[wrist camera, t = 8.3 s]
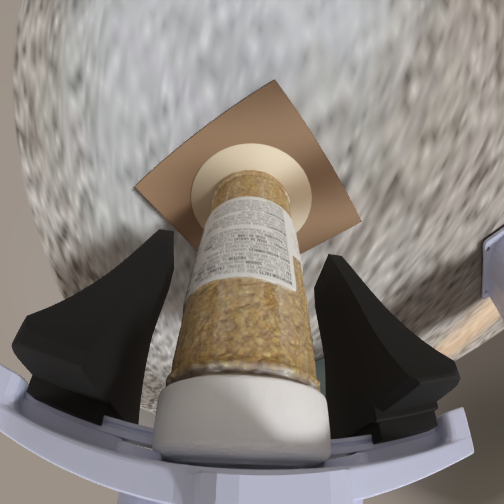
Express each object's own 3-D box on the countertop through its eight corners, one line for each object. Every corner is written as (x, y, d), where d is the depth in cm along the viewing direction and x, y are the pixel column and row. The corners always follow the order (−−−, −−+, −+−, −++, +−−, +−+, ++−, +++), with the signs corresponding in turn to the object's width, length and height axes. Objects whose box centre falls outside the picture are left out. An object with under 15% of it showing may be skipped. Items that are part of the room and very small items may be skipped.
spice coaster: (358, 215, 17) (362, 222, 16) (235, 279, 21) (235, 288, 20) (274, 79, 12) (275, 79, 11) (139, 181, 16) (134, 187, 15)
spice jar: (277, 242, 17) (292, 477, 7) (205, 227, 17) (154, 465, 6) (301, 177, 15) (371, 452, 4) (219, 157, 14) (137, 443, 4)
